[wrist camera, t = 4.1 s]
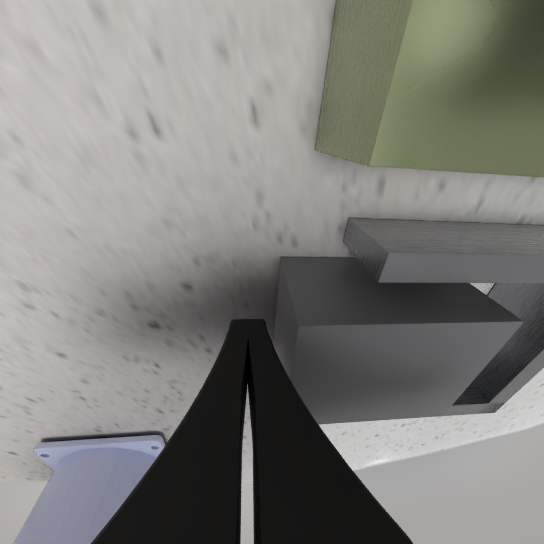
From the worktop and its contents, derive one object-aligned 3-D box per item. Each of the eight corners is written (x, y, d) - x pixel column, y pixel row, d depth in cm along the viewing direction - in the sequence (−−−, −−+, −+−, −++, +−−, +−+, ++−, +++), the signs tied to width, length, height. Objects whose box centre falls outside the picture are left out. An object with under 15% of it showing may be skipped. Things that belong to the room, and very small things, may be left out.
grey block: (392, 342, 13) (442, 415, 10) (272, 346, 12) (281, 427, 9) (433, 258, 10) (524, 321, 7) (280, 256, 10) (298, 326, 6)
